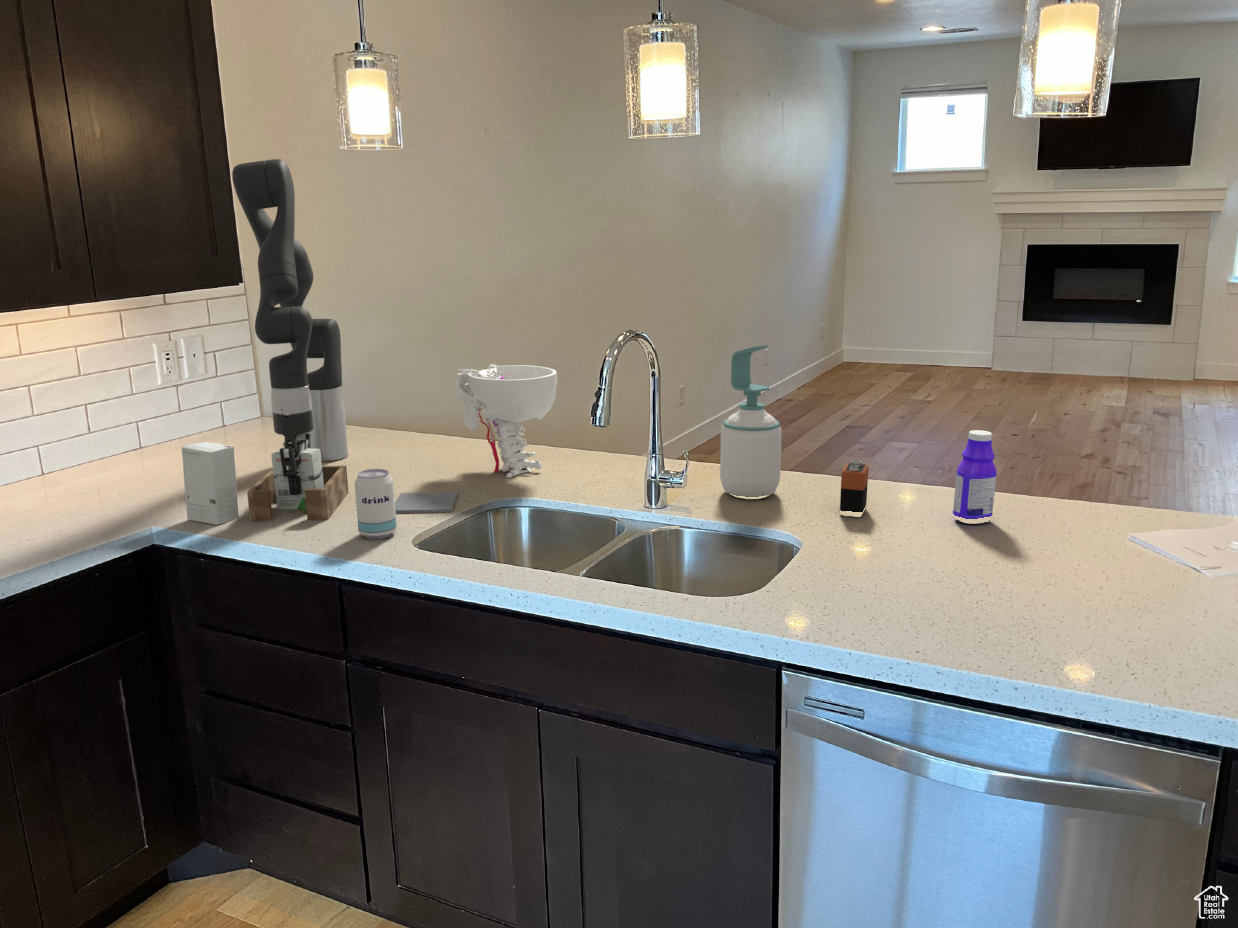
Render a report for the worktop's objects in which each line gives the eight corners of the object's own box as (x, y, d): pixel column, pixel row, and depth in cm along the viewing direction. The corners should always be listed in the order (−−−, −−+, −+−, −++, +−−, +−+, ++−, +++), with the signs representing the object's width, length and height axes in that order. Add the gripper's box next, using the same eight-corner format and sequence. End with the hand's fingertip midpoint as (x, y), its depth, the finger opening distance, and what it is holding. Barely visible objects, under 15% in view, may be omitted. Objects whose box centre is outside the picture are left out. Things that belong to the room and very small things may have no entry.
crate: (277, 494, 211) (274, 466, 210) (348, 492, 212) (346, 465, 210) (250, 521, 194) (247, 491, 192) (328, 519, 194) (325, 489, 193)
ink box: (326, 503, 205) (321, 447, 202) (317, 510, 200) (312, 453, 197) (286, 502, 206) (280, 446, 203) (275, 509, 201) (269, 452, 198)
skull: (573, 465, 232) (571, 367, 226) (539, 486, 215) (535, 381, 209) (477, 456, 240) (473, 362, 234) (437, 476, 223) (431, 375, 217)
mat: (400, 495, 209) (400, 492, 209) (458, 494, 210) (458, 491, 210) (390, 513, 198) (390, 510, 198) (451, 511, 198) (451, 509, 198)
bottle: (977, 514, 193) (985, 427, 189) (998, 523, 188) (1006, 433, 184) (946, 519, 191) (953, 430, 186) (966, 528, 186) (974, 437, 181)
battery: (866, 508, 198) (869, 459, 195) (861, 518, 192) (864, 468, 189) (844, 506, 199) (846, 458, 197) (839, 516, 193) (841, 466, 191)
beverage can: (359, 542, 181) (354, 479, 178) (358, 531, 187) (353, 469, 184) (398, 539, 183) (393, 476, 180) (395, 527, 189) (391, 466, 186)
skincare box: (186, 520, 195) (177, 446, 191) (210, 512, 200) (201, 440, 196) (219, 526, 191) (210, 451, 187) (242, 517, 196) (234, 443, 193)
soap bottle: (750, 506, 200) (754, 351, 192) (707, 493, 209) (709, 344, 201) (792, 494, 207) (797, 345, 199) (748, 482, 217) (751, 339, 209)
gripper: (283, 401, 204) (290, 480, 209) (261, 416, 190) (270, 501, 195) (320, 400, 205) (327, 480, 209) (301, 415, 191) (309, 500, 195)
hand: (299, 489), depth 202 cm, fingers open, 5 cm apart
